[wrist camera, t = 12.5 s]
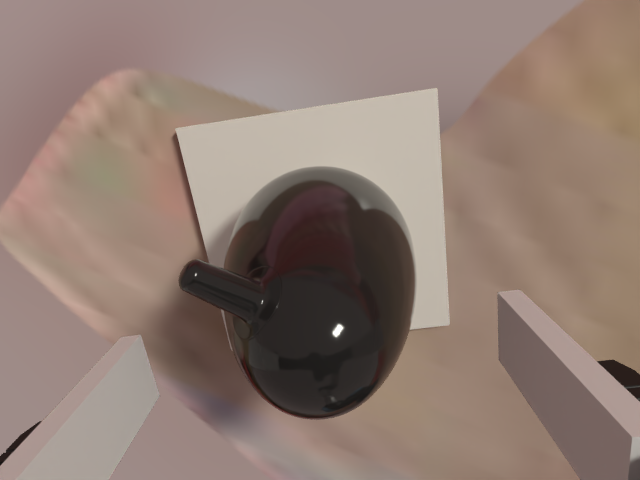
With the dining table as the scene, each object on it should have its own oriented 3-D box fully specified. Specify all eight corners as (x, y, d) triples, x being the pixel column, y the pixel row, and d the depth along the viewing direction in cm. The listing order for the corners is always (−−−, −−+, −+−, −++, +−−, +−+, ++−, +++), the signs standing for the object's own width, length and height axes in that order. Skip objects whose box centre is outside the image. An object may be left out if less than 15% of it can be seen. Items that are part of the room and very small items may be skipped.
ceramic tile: (446, 319, 29) (449, 325, 29) (233, 344, 30) (230, 350, 30) (433, 88, 24) (437, 87, 24) (179, 127, 25) (175, 128, 25)
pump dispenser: (307, 120, 24) (275, 142, 10) (431, 224, 26) (555, 368, 12) (213, 243, 27) (81, 399, 13) (332, 329, 29) (335, 551, 15)
